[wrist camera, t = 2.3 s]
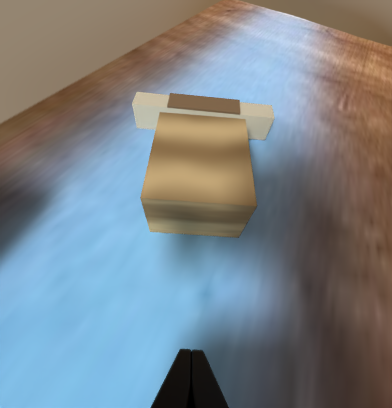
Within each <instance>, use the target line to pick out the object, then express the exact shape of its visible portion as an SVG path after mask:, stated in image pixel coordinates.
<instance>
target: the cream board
mask: <svg viewBox="0 0 392 408" xmlns="http://www.w3.org/2000/svg"><path fill="white" fill-rule="evenodd" d="M132 106H133V111H134V115H135V120H136V125H137V128H141V129H152V130H156V126H157V122H158V117H159V113H160V112H166V113H178V114H190V115H202V116H214V117H227V118H239V119H246V127H247V134H248V139H256V140H265V139H266V136H267V134H268V132H269V129H270V127H271V125H272V123H273V120H274V114H273V109H272V105H262V104H252V103H242V102H240V101H239V100H234V99H224V98H214V97H204V96H194V95H184V94H174V93H170V95H162V94H152V93H142V92H137V93H136V95H135V98H134V101H133V103H132Z"/></svg>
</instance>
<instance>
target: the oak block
mask: <svg viewBox="0 0 392 408" xmlns="http://www.w3.org/2000/svg"><path fill="white" fill-rule="evenodd" d="M141 202H142V205H143V209H144V212H145V216H146V219H147V223H148V226H149V230H150V232H160V233H175V234H190V235H205V236H220V237H235V238H239V236H240V234H241V233H242V231H243V229H244V228H245V226H246V224H247V222H248V221H249V219H250V217H251V216H252V214H253V212H254V210H255V209H256V207H257V202H256V195H255V187H254V180H253V172H252V165H251V157H250V149H249V142H248V134H247V127H246V119H239V118H227V117H214V116H202V115H190V114H178V113H166V112H160V113H159V117H158V122H157V126H156V131H155V135H154V140H153V144H152V149H151V153H150V158H149V162H148V166H147V171H146V175H145V180H144V184H143V189H142V193H141Z"/></svg>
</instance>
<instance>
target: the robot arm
mask: <svg viewBox="0 0 392 408" xmlns="http://www.w3.org/2000/svg"><path fill="white" fill-rule="evenodd" d="M151 408H229V407H228V405H227V403H226V401H225V398H224V396H223V394H222V392H221V389H220V387H219V385H218V383H217V380H216V378H215V376H214V374H213V372H212V369H211V367H210V365H209V363H208V360H207V358H206V356H205V354H204V352H203V351H202V350H192V352H191V350H190V349H180V350H179V352H178V354H177V356H176V358H175V360H174V362H173V364H172V366H171V368H170V370H169V372H168V374H167V376H166V378H165V380H164V382H163V384H162V386H161V388H160V390H159V392H158V394H157V396H156V398H155V400H154V402H153V404H152V406H151Z"/></svg>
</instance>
